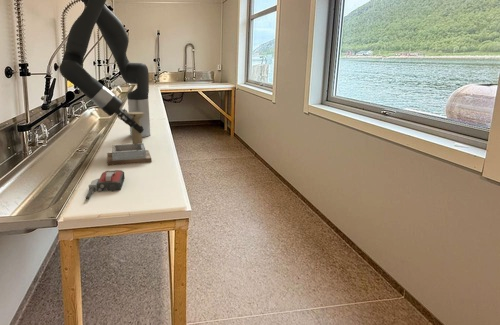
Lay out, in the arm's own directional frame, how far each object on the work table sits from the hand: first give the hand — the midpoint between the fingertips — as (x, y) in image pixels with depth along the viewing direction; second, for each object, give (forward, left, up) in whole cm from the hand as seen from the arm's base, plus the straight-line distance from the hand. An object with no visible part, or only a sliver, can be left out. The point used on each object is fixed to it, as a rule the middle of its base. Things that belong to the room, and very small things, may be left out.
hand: (141, 130), depth 152 cm
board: (+14, -6, -8) cm, 17 cm away
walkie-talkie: (+44, -14, -9) cm, 47 cm away
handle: (0, -2, -8) cm, 8 cm away
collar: (+14, -6, -6) cm, 17 cm away
